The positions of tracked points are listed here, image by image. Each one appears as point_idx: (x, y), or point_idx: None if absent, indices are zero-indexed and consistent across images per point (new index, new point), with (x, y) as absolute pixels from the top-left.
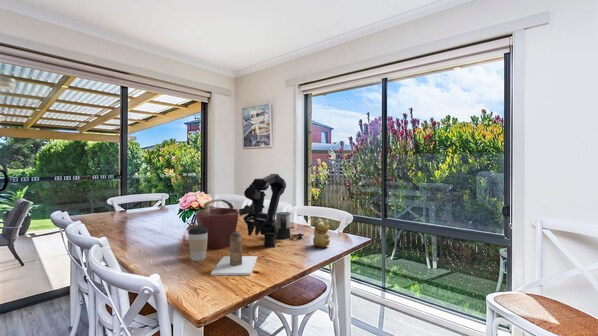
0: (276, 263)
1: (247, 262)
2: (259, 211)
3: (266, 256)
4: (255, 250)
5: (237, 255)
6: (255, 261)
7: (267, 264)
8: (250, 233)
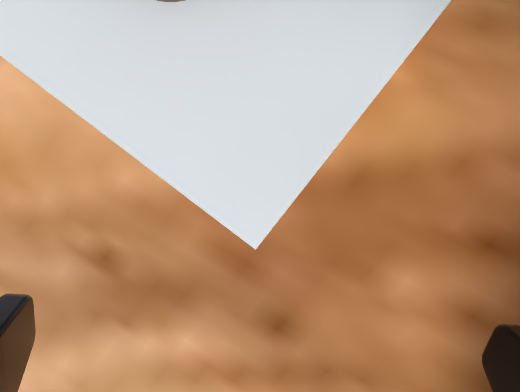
0: None
1: (136, 61)
2: None
3: (250, 346)
4: None
5: None
6: (148, 163)
7: (47, 231)
8: (514, 390)
